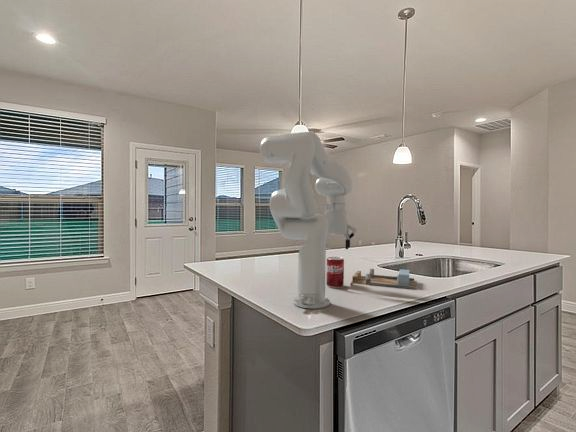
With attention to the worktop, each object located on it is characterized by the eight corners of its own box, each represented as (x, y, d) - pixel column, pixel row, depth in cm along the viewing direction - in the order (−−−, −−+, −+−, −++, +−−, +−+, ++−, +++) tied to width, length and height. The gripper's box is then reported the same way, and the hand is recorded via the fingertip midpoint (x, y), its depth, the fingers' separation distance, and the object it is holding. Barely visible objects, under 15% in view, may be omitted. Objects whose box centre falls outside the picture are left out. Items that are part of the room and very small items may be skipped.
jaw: (408, 287, 129) (408, 275, 128) (396, 286, 130) (397, 274, 130) (409, 281, 139) (409, 269, 139) (398, 280, 140) (398, 269, 140)
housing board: (416, 292, 125) (416, 279, 125) (350, 286, 135) (350, 273, 135) (416, 283, 140) (416, 271, 140) (357, 277, 150) (357, 266, 150)
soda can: (343, 289, 130) (343, 260, 130) (325, 288, 132) (325, 259, 131) (343, 284, 137) (344, 257, 137) (327, 283, 139) (327, 256, 138)
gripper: (313, 207, 133) (313, 248, 134) (355, 208, 127) (354, 250, 127) (318, 207, 140) (318, 245, 141) (358, 207, 133) (357, 248, 134)
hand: (335, 248), depth 134 cm, fingers open, 9 cm apart
